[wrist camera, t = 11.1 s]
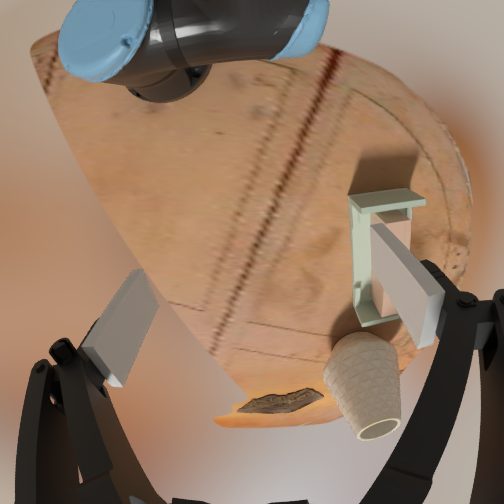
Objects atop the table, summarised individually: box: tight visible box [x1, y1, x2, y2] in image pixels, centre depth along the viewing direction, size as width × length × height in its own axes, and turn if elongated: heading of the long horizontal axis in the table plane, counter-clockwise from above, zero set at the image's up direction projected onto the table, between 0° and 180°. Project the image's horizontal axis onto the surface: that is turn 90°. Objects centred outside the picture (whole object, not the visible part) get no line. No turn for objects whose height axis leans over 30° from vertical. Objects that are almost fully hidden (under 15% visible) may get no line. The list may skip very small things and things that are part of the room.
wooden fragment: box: [237, 388, 324, 414], centre depth 70 cm, size 26×11×1 cm, turn 107°
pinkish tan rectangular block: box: [370, 209, 411, 317], centre depth 45 cm, size 18×4×7 cm, turn 11°
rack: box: [347, 188, 426, 327], centre depth 46 cm, size 23×12×7 cm, turn 12°
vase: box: [323, 331, 401, 441], centre depth 50 cm, size 17×17×23 cm
